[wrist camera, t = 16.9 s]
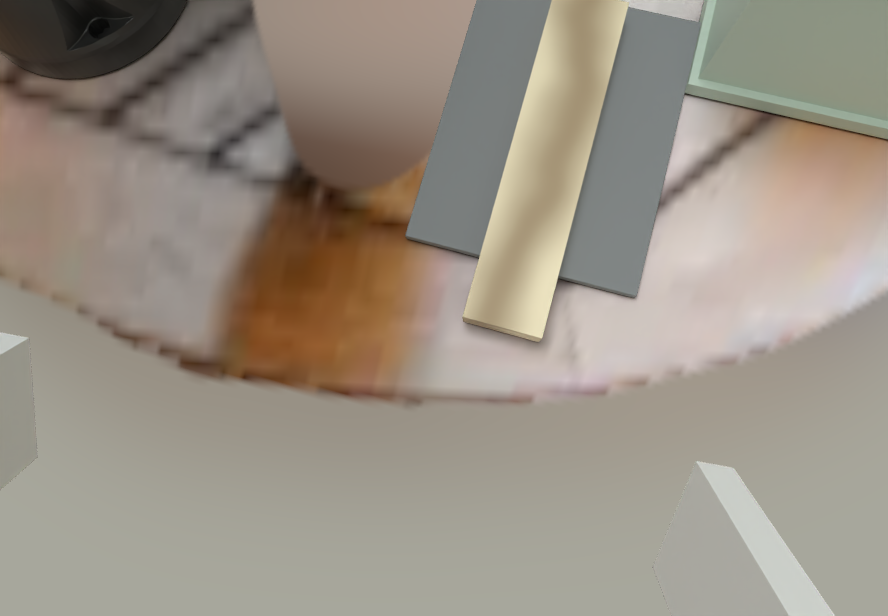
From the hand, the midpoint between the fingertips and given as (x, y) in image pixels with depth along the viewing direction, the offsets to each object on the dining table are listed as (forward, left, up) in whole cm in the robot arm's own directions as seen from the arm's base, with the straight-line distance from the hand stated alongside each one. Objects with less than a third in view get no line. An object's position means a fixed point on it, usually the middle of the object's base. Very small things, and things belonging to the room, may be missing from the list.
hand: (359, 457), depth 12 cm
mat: (+2, +19, -23) cm, 30 cm away
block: (+2, +17, -22) cm, 28 cm away
